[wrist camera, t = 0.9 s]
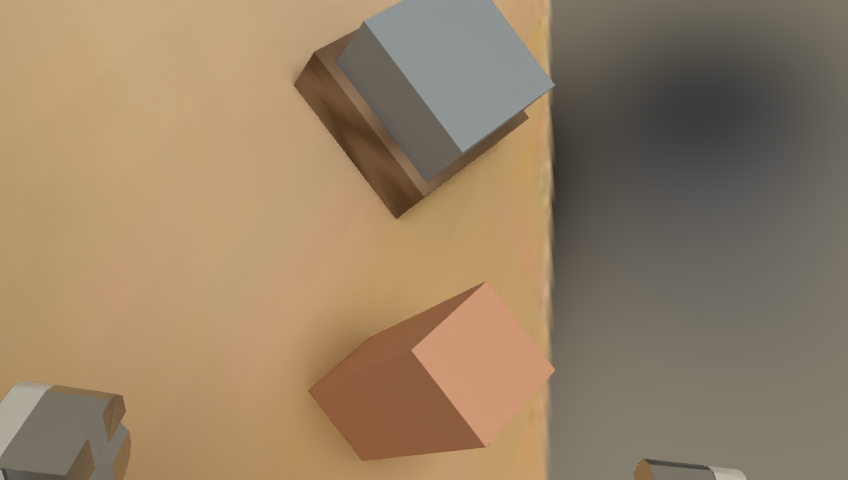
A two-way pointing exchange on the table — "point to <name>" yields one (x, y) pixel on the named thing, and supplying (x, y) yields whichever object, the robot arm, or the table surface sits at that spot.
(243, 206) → the table surface
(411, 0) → the tower top block
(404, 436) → the terracotta block
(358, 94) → the tower base block
